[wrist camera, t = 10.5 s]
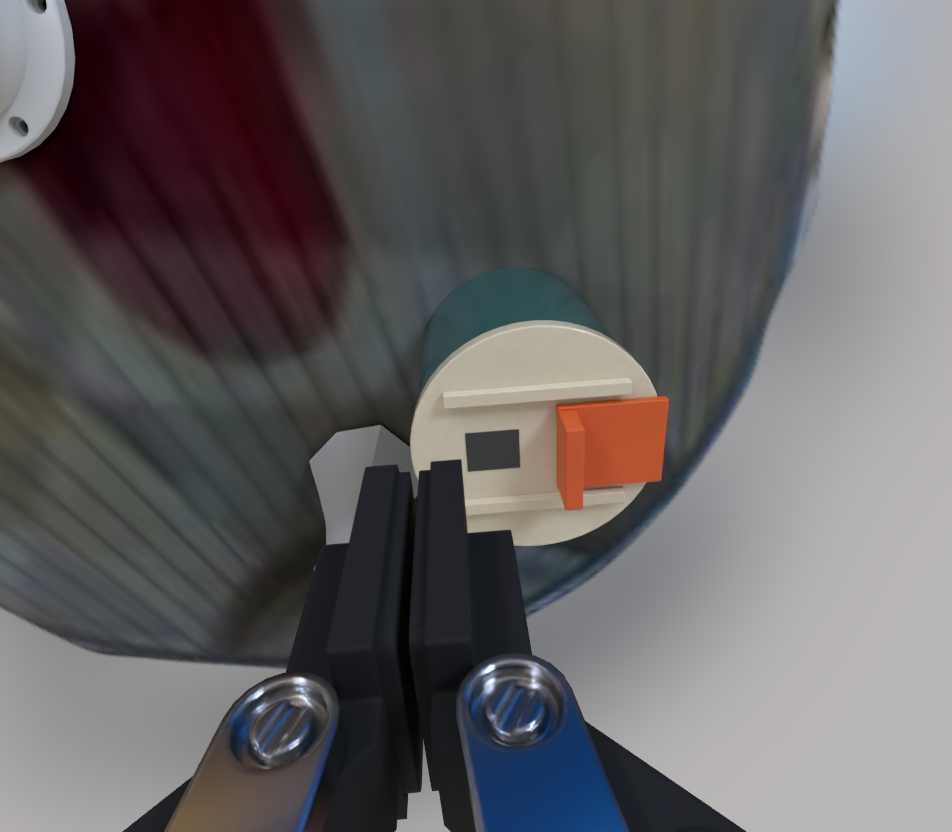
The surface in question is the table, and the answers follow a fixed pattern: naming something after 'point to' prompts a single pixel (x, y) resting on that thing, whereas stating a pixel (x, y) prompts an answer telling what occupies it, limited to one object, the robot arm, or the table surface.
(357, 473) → the flask
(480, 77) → the table surface
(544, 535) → the sliding lid canister
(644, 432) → the slider
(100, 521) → the table surface
